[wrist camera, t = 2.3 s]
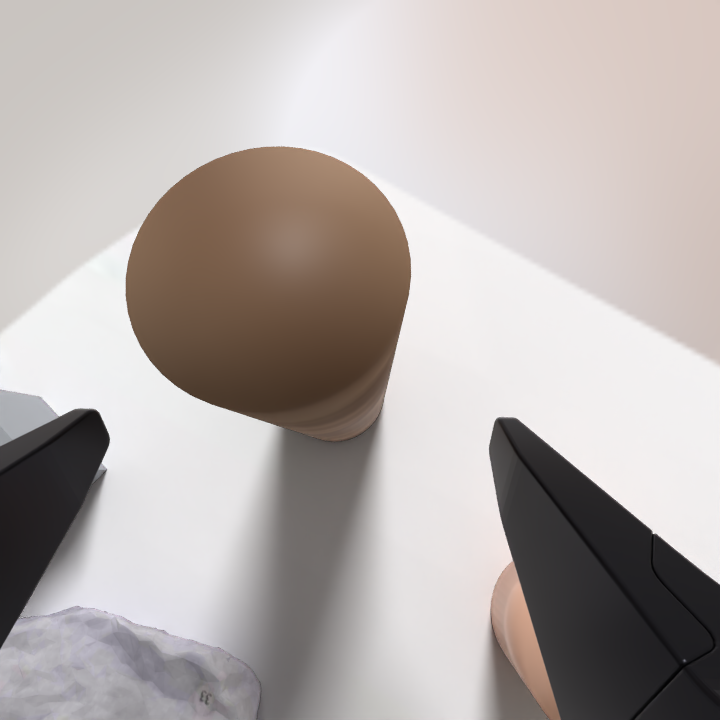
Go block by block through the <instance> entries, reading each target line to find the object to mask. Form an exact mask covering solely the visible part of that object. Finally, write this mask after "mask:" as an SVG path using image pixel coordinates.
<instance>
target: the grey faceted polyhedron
mask: <svg viewBox="0 0 720 720" xmlns="http://www.w3.org/2000/svg"><path fill="white" fill-rule="evenodd" d="M58 417H59V416H58V415H57V414H56V413H55V412H54V411H53V410H52V409H51V408H50V406H49V405H48V404H47V403H46V402H45V401H44V400H43V399H42V398H41V397H39V396H33V395H28V394H22V393H17V392H11V391H5V390H0V446H2V445H4V444H6V443H8V442H10V441H12V440H14V439H16V438H18V437H20V436H22V435H24V434H26V433H28V432H30V431H32V430H34V429H36V428H38V427H40V426H42V425H44V424H46V423H48V422H50V421H52V420H54V419H56V418H58ZM106 470H107V469H106V468H105V467H104V465H103V464H102V463H101V465H100V467H99V469H98V472H97V474H96V476H95V478H94V481H93V483H94V482H95V481H96V480H97V479H98V478H99V477H100V476H101V475H102V474H103V473H104V472H105V471H106ZM93 483H92V484H93Z"/></svg>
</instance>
